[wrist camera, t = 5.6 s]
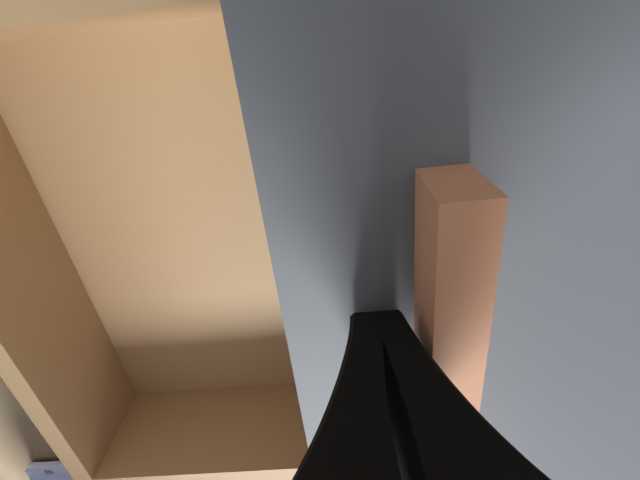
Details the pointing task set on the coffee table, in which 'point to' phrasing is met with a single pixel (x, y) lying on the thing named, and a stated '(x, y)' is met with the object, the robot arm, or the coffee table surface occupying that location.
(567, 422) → the lid
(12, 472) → the coffee table surface
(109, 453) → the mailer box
